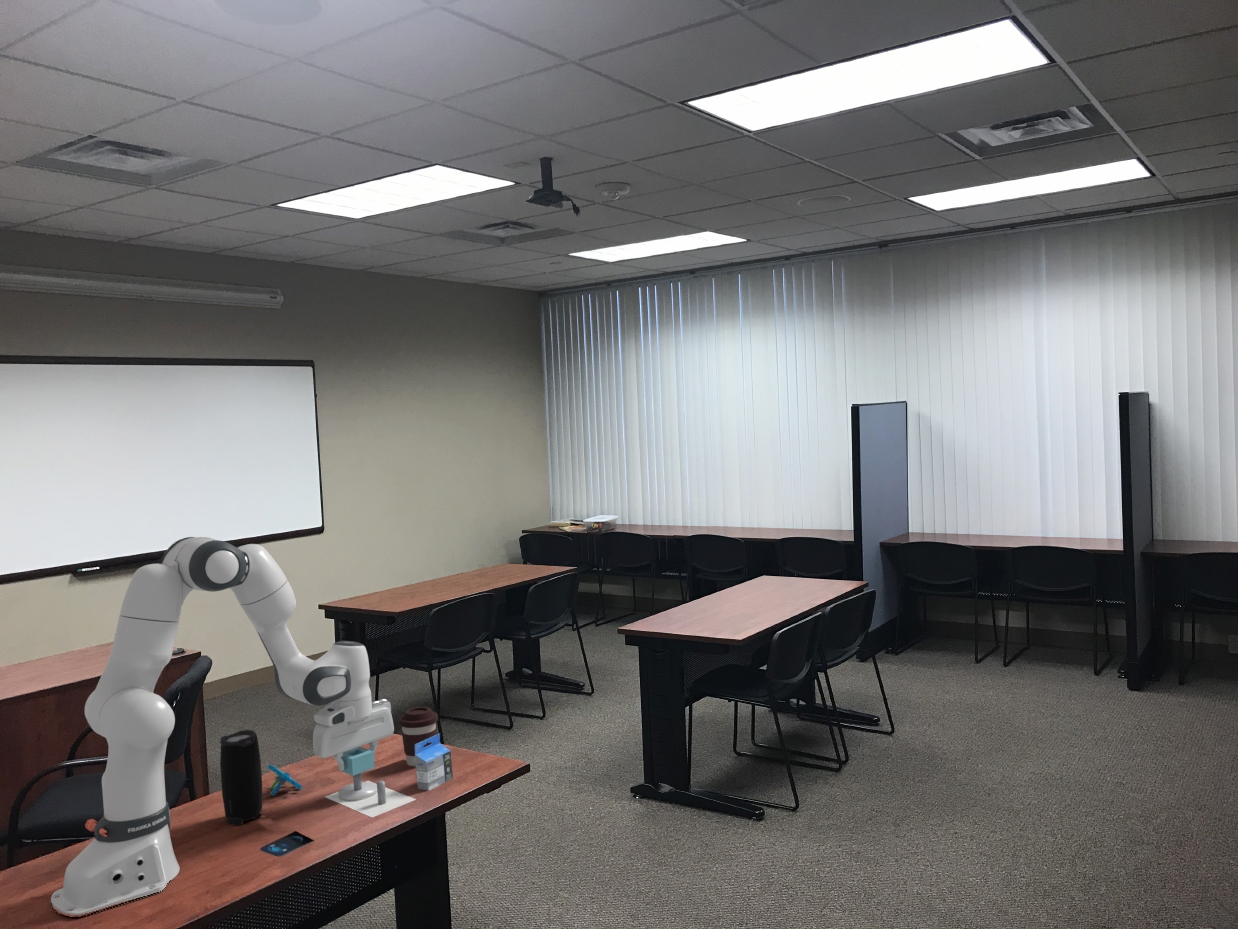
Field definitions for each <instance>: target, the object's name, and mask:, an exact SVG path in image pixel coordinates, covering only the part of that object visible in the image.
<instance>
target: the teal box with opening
mask: <svg viewBox="0 0 1238 929" xmlns="http://www.w3.org/2000/svg"><path fill="white" fill-rule="evenodd" d="M374 757H375V752H374V751H371V750H369V748H365V747H362V746H359V747H357V748H354V749H351V750H348V751H345V752H343V756H342V757H341V759H342V760H343V761H346V762H347V767H348V768H347V769H345V770H343V771H340V770H339V769H338V771H339V772H342V773H345V774H347V775H350V776H354V775H357V774H359V773H361V774H363V773H365V772H367V771H370V770H373V769H375V768H376V766H375V764H376V763H375V758H374Z"/></svg>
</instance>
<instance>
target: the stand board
mask: <svg viewBox="0 0 1238 929" xmlns="http://www.w3.org/2000/svg"><path fill="white" fill-rule="evenodd" d="M352 779H353V783H349V784H347V785H344V786H342V787H341V788H340V789H339V790H338V791H336V792H334V793H331V794H328V795H326V796H325V798H326V799H328V800H330V801H334V802H335V803H337V804H339V805H343V806H344V807H346V808H349V809H352V810H354V811H356V812H358V813H361V814H363V815H366V816H367V817H370V818H374V817H377V816H379V815H382V814H385V813H387V812H389V811H391V810H392V811H393V810H395V809H396V808H400V807H402V806H404V805H407V804H408V803H412V802H414V801H416V800H417V798H415V797H412V796H408V795H406V794H404V793H402V792H401V793H400V792H398V791H396V790H393V789H391V788H388V787H386V782H385V780H378V781H376V782H372V781H370V780H366V781H362V773H359V774H357V775H354V776H353V778H352Z"/></svg>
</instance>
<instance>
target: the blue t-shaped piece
mask: <svg viewBox="0 0 1238 929" xmlns="http://www.w3.org/2000/svg"><path fill="white" fill-rule="evenodd" d="M267 768H268V769H270V770H271V771H272V772H273V773H275V775H276V776H275V777H274V779H275V780H274V782H273V783H272V784H271V786H270V787H269V789H271V790H272V791H270V795H272V796H275V795H276V794H277V792H278V791H279V790H280V788H281V787H282V786H284V785H285V784H286V782H288V783H289V784H291V785H292V786H293V787H295V788H297V789H299V790H302V789H303V785H302V784H300V783H299V782H297V780H295V779H293V778H292V777H291V776H290V775H291V774H290V773H288V772H283V771H282V770H280V769H279V768H278V767H276V766H274V765H272V764H269V765H268V767H267Z"/></svg>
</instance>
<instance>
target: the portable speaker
mask: <svg viewBox="0 0 1238 929" xmlns="http://www.w3.org/2000/svg"><path fill="white" fill-rule="evenodd" d="M219 743H220V754H219V755H220V758H219V760H220V763H219V765H220V767H219V768H220V780H221V781H220V782H221V794H222V795H221V796H222V802H223V809H224V814H225V818H226V822H227V824H228V825H231V826H241V825H242V824H243V823H244V822H246V821H249V820H251V819H255V820H260V819H261V817H262V816H263V813H261V812H263V776H262V762H261V761H262V760H261V753H260V746H259V745H260V744H259V741H258V734H256V732H255V731H254V730H252V729H244V730H243V729H242V730H239V731H237V732H235V733H231V734H229V735H223V736H221V737H220V741H219Z"/></svg>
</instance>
